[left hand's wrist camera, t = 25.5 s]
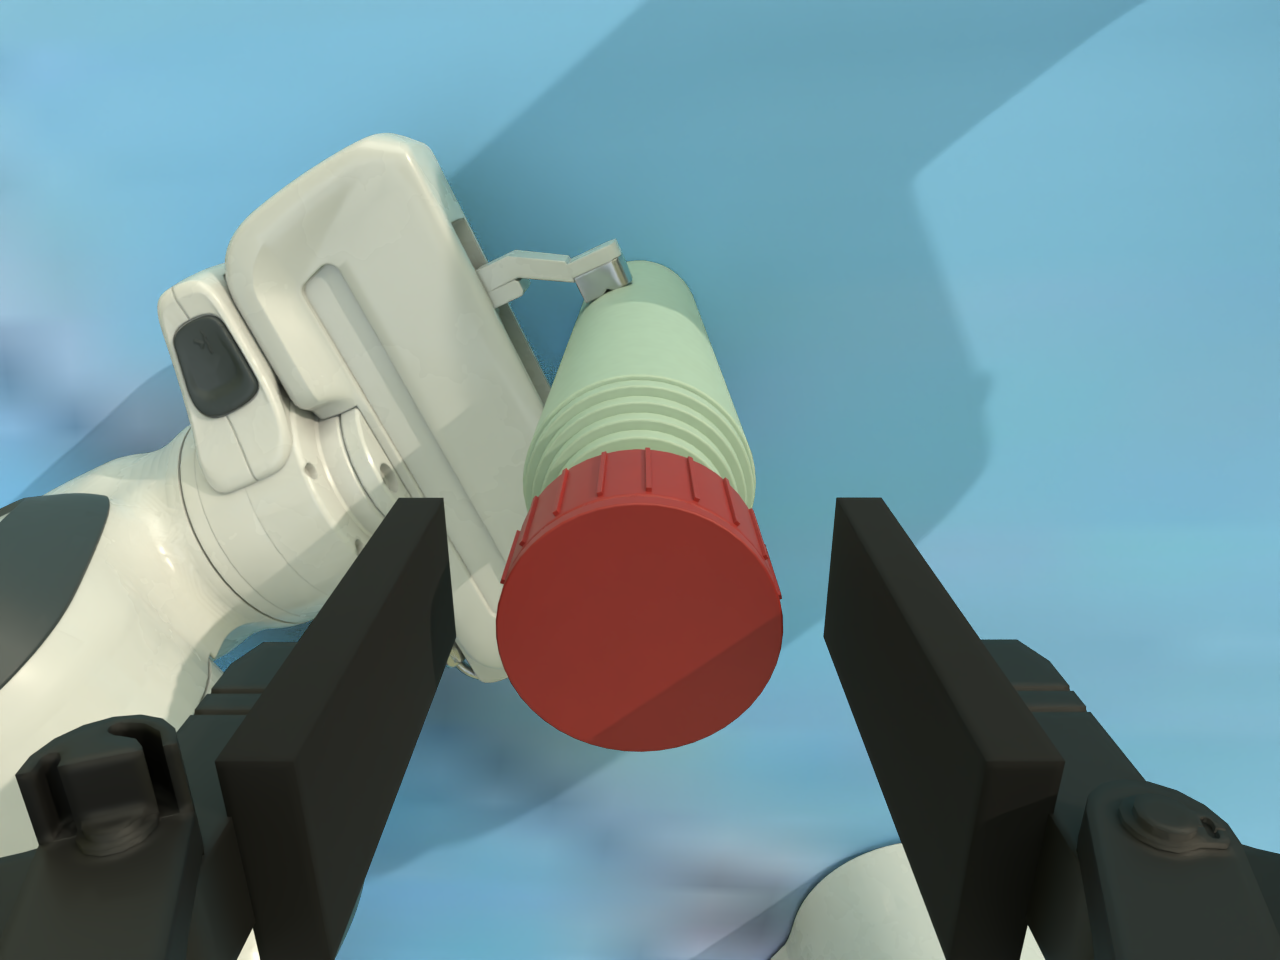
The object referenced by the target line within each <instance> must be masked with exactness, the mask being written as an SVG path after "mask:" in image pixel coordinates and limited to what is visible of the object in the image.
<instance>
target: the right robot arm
mask: <svg viewBox="0 0 1280 960" xmlns="http://www.w3.org/2000/svg"><path fill="white" fill-rule="evenodd" d="M632 278H633V277H632V274H631V272H630V269H629V267H628V265H627V262H626V260H625V258H624V255H623V253H622V252H621V248H620V246H619V244H618V242H617V240H616V239H613V240H610V241H607V242H605V243H603V244H601V245H599V246H597V247H595V248H592V249H590V250H588V251H586V252H584V253H582V254H580V255H578V256H575V257H573V258H570V256H569V255H561V254H551V253H542V252H532V251H523V250H514V251H512V252H510V253H507V254H505V255H503V256H501V257H499V258H497V259H495V260H493V261H491V262H489V263H488V261H487V259H486V257H485V255H484V253H483V251H482V249H481V247H480V245H479V243H478V241H477V239H476V237H475V235H474V233H473V231H472V229H471V227H470V225H469V223H468V221H467V219H466V217H465V215H464V213H463V211H462V209H461V207H460V205H459V203H458V201H457V199H456V197H455V195H454V193H453V191H452V189H451V187H450V185H449V183H448V181H447V179H446V177H445V175H444V173H443V171H442V169H441V167H440V165H439V163H438V161H437V159H436V157H435V156H434V154H433V152H432V150H431V149H430V148H429V147H428V146H427V145H426V144H424V143H422V142H419V141H417V140H414V139H411V138H408V137H406V136H402V135H398V134H393V133H380V134H374V135H371V136H368V137H366V138H363V139H361V140H359V141H357V142H355V143H353V144H351V145H349V146H347V147H345V148H344V149H342V150H340V151H339V152H337V153H335V154H334V155H332V156H330V157H329V158H327V159H325V160H324V161H322V162H321V163H319V164H317V165H316V166H314V167H313V168H311V169H310V170H308V171H307V172H305V173H304V174H302V175H301V176H299V177H298V178H296V179H295V180H294V181H292V182H291V183H289V184H288V185H286V186H285V187H284V188H282V189H281V190H280V191H278V192H277V193H276V194H275V195H273V196H272V197H271V198H269V199H268V200H267V201H265V202H264V203H263V204H262V205H260V206H259V207H258V208H257V209H256V210H255V211H253V212H252V213H251V214H250V215H249V216H248V217H247V218H246V219H245V220H244V221H243V222H242V223H241V225H240V226H239V227H238V228H237V230H236V231H235V233H234V234H233V236H232V238H231V240H230V242H229V245H228V248H227V251H226V256H225V263H222V264H219V265H216V266H213V267H210V268H207V269H204V270H202V271H200V272H198V273H195V274H193V275H191V276H189V277H187V278H186V279H184V280H182V281H180V282H179V283H177V284H175V285H174V286H172V287H171V288H169V289H168V290H167V291H165V292H164V293H163V294H162V295H161V296H160V298H159V301H158V306H157V309H158V318H159V322H160V326H161V329H162V332H163V336H164V339H165V342H166V345H167V348H168V351H169V354H170V357H171V360H172V363H173V366H174V369H175V372H176V376H177V379H178V382H179V385H180V389H181V392H182V395H183V399H184V403H185V406H186V410H187V413H188V417H189V421H190V425H189V426H187V427H186V428H185V429H183V430H182V431H181V432H180V433H179V434H178V435H177V436H176V437H175V438H174V439H173V440H172V441H171V442H170V443H169V444H168V445H166V446H165V447H163V448H162V449H159V450H157V451H154V452H150V453H142V454H134V455H129V456H125V457H121V458H117V459H114V460H112V461H109V462H107V463H105V464H103V465H101V466H99V467H97V468H95V469H92V470H90V471H88V472H86V473H84V474H82V475H80V476H78V477H76V478H74V479H72V480H70V481H68V482H66V483H64V484H62V485H61V486H59V487H57V488H55V489H53V490H51V491H50V492H48V493H46V494H44V495H43V496H37V497H28V498H23V499H20V500H18V501H16V502H14V503H11V504H9V505H7V506H5V507H3V508H1V509H0V858H1V857H5V856H9V855H14V854H18V853H23V852H26V851H30V850H33V849H37V848H38V846H39V844H38V841H37V838H36V835H35V832H34V830H33V827H32V824H31V821H30V818H29V815H28V812H27V809H26V806H25V803H24V800H23V797H22V794H21V791H20V788H19V785H18V783H17V780H16V777H15V774H16V773H17V772H18V770H19V769H20V768H21V767H22V765H23V764H24V763H25V762H26V760H27V759H28V758H29V757H30V756H31V755H32V754H33V753H35V752H36V751H38V750H39V749H40V748H42V747H43V746H45V745H46V744H47V743H49V742H50V741H52V740H53V739H54V738H57V737H59V736H61V735H63V734H65V733H67V732H69V731H72V730H74V729H76V728H78V727H80V726H82V725H85V724H89V723H92V722H96V721H100V720H103V719H107V718H110V717H115V716H127V715H139V714H142V715H147V716H153V717H158V718H163V719H164V720H165V721H167V722H168V723H169V724H170V725H172V726H173V727H174V728H175V729H176V732H177V731H178V730H179V728H180V727H181V726H182V725H183V723H184V722H185V721H186V720H187V718H188V717H189V716H190V715H194V713H195V708H196V707H197V706H198V705H199V703H200V702H201V701H202V700H203V698H204V697H205V696H206V695H207V694H211V688H212V687H213V686H214V685H215V683H216V682H217V681H218V680H219V678H220V677H221V676H222V675H223V673H224V672H223V671H222V670H221V669H220V668H219V667H218V666H217V665H216V664H215V663H214V662H213V661H215V660H217V659H219V658H220V657H222V656H224V655H226V654H228V653H229V652H231V651H232V650H233V649H234V648H236V647H237V646H238V645H239V644H241V643H242V642H243V641H244V640H245V639H246V638H248V637H249V636H251V635H252V634H254V633H256V632H259V631H261V630H265V629H273V628H285V627H292V626H295V625H299V624H302V623H306V622H308V621H310V620H312V619H314V618H315V617H316V615H317V614H318V612H319V611H320V610H321V608H322V607H323V605H324V604H325V602H326V601H327V600H328V598H329V597H330V595H331V594H332V592H333V591H334V590H335V588H336V587H337V585H338V584H339V582H340V581H341V580H342V578H343V577H344V575H345V574H346V572H347V571H348V570H349V568H350V567H351V565H352V564H353V562H354V561H355V559H356V558H357V557H358V555H359V554H360V552H361V551H362V549H363V548H364V547H365V545H366V544H367V542H368V541H369V539H370V538H371V537H372V535H373V534H374V532H375V531H376V529H377V528H378V527H379V525H380V524H381V522H382V521H383V519H384V518H385V517H386V515H387V514H388V512H389V511H390V509H391V508H392V507H393V505H394V504H395V502H396V501H397V499H398V498H444V508H445V519H446V530H447V541H448V551H449V562H450V573H451V584H452V594H453V605H454V616H455V627H456V639H455V642H454V645H453V647H452V650H451V653H450V655H449V658H448V661H447V663H446V667H448V668H453V667H456V668H457V669H458V670H459V671H461V672H462V673H464V674H465V675H467V676H469V677H471V678H474V679H478V680H480V681H482V682H484V683H492V682H497V681H501V680H503V679H506V678H508V676H507V674H506V672H505V670H504V667H503V664H502V661H501V658H500V655H499V652H498V646H497V640H496V614H497V607H498V602H499V599H500V595H501V592H502V588H503V585H504V584H501V583H500V581H501V578H502V575H503V571H504V568H505V565H506V562H507V559H508V556H509V553H510V550H511V547H512V544H513V541H514V537H515V534H516V531H517V530H519V531H521V528H522V525H523V522H524V520H525V518H526V516H527V509H526V504H525V499H524V494H523V472H524V464H525V460H526V456H527V452H528V449H529V446H530V443H531V441H532V438H533V435H534V433H535V430H536V427H537V425H538V422H539V419H540V417H541V414H542V411H543V409H544V406H545V403H546V401H547V398H548V395H549V392H550V390H551V386H550V384H549V382H548V380H547V378H546V376H545V374H544V372H543V370H542V368H541V366H540V364H539V362H538V360H537V358H536V356H535V354H534V352H533V350H532V348H531V346H530V344H529V342H528V340H527V338H526V336H525V334H524V332H523V330H522V328H521V326H520V324H519V322H518V320H517V318H516V316H515V314H514V312H513V310H512V308H511V306H510V304H509V302H510V301H512V300H514V299H516V298H518V297H520V296H522V295H523V294H524V293H525V291H526V290H527V289H528V288H529V286H530V284H531V282H530V280H529V279H537V280H549V281H561V282H573V283H574V282H576V284H577V286H578V288H579V290H580V292H581V294H582V296H583V298H584V300H585V302H586V303H588V302H591V301H593V300H595V299H597V298H599V297H601V296H602V295H604V293H605V292H606V290H607V289H611V290H615V289H618V288H621V287H623V286H625V285H627V284H629V283H630V282H632ZM465 658H466V660H467V661H468V663H469V664H470V666H469V665H468V664H467V663H465V662H464V660H465ZM363 885H364V882H363ZM363 885H362V888H361V890H360V893H359V896H358V898H357V901H356V903H355V906H354V909H353V911H352V914H351V917H350V919H349V922H348V925H347V927H346V930H345V933H344V935H343V938H342V940H341V943H340V946H339V948H338V951H337V954H338V952H339V949H340V947H341V945H342V943H343V941H344V939H345V937H346V935H347V932H348V930H349V928H350V925H351V923H352V920H353V918H354V915H355V912H356V910H357V907H358V904H359V900H360V897H361V893H362V889H363ZM337 954H336V956H337ZM336 956H335V958H336ZM237 960H260V957H259V953H258V948H257V944H256V940H255V935H254V931H253V929H252V931H251V933H250V935H249V937H248V939H247V941H246V943H245V945H244V947H243V949H242V951H241V953H240V955H239V957H238V959H237ZM770 960H946V959H945V956H944V954H943V951H942V948H941V946H940V943H939V940H938V938H937V935H936V933H935V930H934V927H933V925H932V922H931V919H930V917H929V914H928V911H927V909H926V906H925V903H924V901H923V898H922V896H921V893H920V890H919V888H918V885H917V882H916V880H915V877H914V874H913V872H912V869H911V867H910V864H909V861H908V859H907V856H906V853H905V851H904V848H903V845H902V843H898V844H893V845H889V846H885V847H882V848H879V849H875V850H873V851H870V852H867V853H865V854H862V855H860V856H858V857H856V858H854V859H852V860H850V861H848V862H846V863H845V864H843V865H841V866H840V867H838V868H837V869H835V870H834V871H832V872H831V873H830V874H828V875H827V876H826V877H825V878H824V879H823V880H821V881H820V882H819V883H818V884H817V885H816V886H815V887H814V889H813V890H812V891H811V892H810V893H809V895H808V896H807V897H806V899H805V900H804V902H803V903H802V905H801V907H800V909H799V911H798V913H797V915H796V918H795V921H794V924H793V927H792V930H791V933H790V936H789V938H788V940H787V942H786V944H785V945H784V946H783V947H782V948H781V949H780V950H779V951H778V952H777V953H776V954H775V955H774V956H773V957H772V958H771V959H770ZM1020 960H1045V958H1044V956H1043V954H1042V952H1041V950H1040V948H1039V946H1038V944H1037V942H1036V940H1035V938H1034V936H1033V934H1032V932H1031V930H1030V928H1029V927H1027V931H1026V935H1025V940H1024V944H1023V948H1022V953H1021V957H1020Z"/></svg>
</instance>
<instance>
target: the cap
mask: <svg viewBox="0 0 1280 960" xmlns="http://www.w3.org/2000/svg"><path fill="white" fill-rule="evenodd" d="M500 583H501V584H504V585H503V588H502V592H501V595H500V599H499V602H498V607H497V614H496V640H497V646H498V652H499V655H500V658H501V661H502V664H503V667H504V670H505V672H506V674H507V676H508V678H509V680H510V682H511V684H512V685H513V687H514V688H515V690H516V691H517V693H518V694H519V696H520V697H521V698H522V699H523V700H524V702H525V703H526V704H527V705H528V706H529V707H530V708H531V709H532V710H533V711H534V712H535V713H536V714H537V715H538V716H540V717H541V718H542V719H543V720H544V721H546V722H547V723H549V724H550V725H552V726H553V727H555V728H556V729H558V730H559V731H561V732H563V733H565V734H567V735H569V736H571V737H573V738H575V739H578V740H580V741H583V742H586V743H588V744H591V745H595V746H599V747H603V748H607V749H614V750H621V751H638V752H644V751H658V750H665V749H670V748H676V747H680V746H683V745H687V744H690V743H693V742H696V741H698V740H701V739H703V738H705V737H708V736H710V735H712V734H714V733H715V732H717V731H719V730H721V729H723V728H724V727H726V726H727V725H729V724H730V723H731V722H733V721H734V720H735V719H737V718H738V717H739V716H740V715H741V714H742V713H744V712H745V711H746V710H747V709H748V708H749V707H750V706H751V705H752V704H753V702H754V701H755V700H756V699H757V697H758V696H759V695H760V694H761V692H762V691H763V689H764V688H765V686H766V684H767V683H768V681H769V680H770V678H771V675H772V673H773V671H774V669H775V666H776V664H777V661H778V657H779V654H780V650H781V644H782V636H783V615H782V609H781V604H780V599H782V596H781V592H780V589H779V586H778V583H777V580H776V577H775V573H774V570H773V567H772V564H771V561H770V558H769V555H768V552H767V549H766V545H765V544H764V542H763V539H762V536H761V532H760V529H759V526H758V523H757V520H756V517H755V514H754V511H753V509H752V508H750V509H748V507H747V505H746V504H745V502H744V501H743V500H742V498H741V497H740V495H739V494H738V493H737V492H736V491H735V490H734V489H733V488H732V487H731V486H730V483H729V480H728V479H727V478H726V477H725V478H724V479H723V478H721V477H720V476H719V475H718V474H716V473H715V472H713V471H712V470H710V469H709V468H707V467H705V466H704V465H702V464H700V463H698V462H695V461H693V458H692V457H690V456H688V458H686V457H683V456H680V455H676V454H673V453H669V452H663V451H657V450H650V448H647V447H645V450H644V449H633V450H621V451H615V452H610V453H607V452H606V451H605V452H602V453H601V455H599V456H595V457H593V458H590V459H587V460H585V461H583V462H581V463H579V464H577V465H575V466H573V467H571V468H570V469H567V468H565V469H564V470H563V471H562V474H561V475H559V476H558V477H557V478H556V479H555V480H554V481H553V482H551V483H550V484H549V485H548V486H547V487H546V488H545V489H544V491H543V492H542V493H541V494H540V495H539V496H538V497H537V496H535V497H534V498H533V500H532V504H531V507H530V510H529V511H528V514H527V516H526V518H525V520H524V522H523V525H522V528H521V531H519V530H517V531H516V534H515V537H514V541H513V544H512V547H511V550H510V553H509V556H508V559H507V562H506V565H505V568H504V571H503V575H502V578H501V581H500Z"/></svg>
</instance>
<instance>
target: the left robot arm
mask: <svg viewBox="0 0 1280 960" xmlns="http://www.w3.org/2000/svg"><path fill="white" fill-rule="evenodd" d="M455 639H456V627H455V616H454V605H453V594H452V584H451V573H450V562H449V551H448V541H447V530H446V519H445V508H444V498H398V499H397V501H396V502H395V504H394V505H393V507H392V508H391V509H390V511H389V512H388V514H387V515H386V517H385V518H384V519H383V521H382V522H381V524H380V525H379V527H378V528H377V529H376V531H375V532H374V534H373V535H372V537H371V538H370V539H369V541H368V542H367V544H366V545H365V547H364V548H363V549H362V551H361V552H360V554H359V555H358V557H357V558H356V559H355V561H354V562H353V564H352V565H351V567H350V568H349V570H348V571H347V572H346V574H345V575H344V577H343V578H342V580H341V581H340V582H339V584H338V585H337V587H336V588H335V590H334V591H333V592H332V594H331V595H330V597H329V598H328V600H327V601H326V602H325V604H324V605H323V607H322V608H321V610H320V611H319V612H318V614H317V615H316V617H315V618H314V620H313V621H312V622H311V624H310V625H309V627H308V628H307V630H306V631H305V632H304V634H303V635H302V637H301V638H300V640H299V641H298V642H263V643H262V644H260V645H259V646H257V647H256V648H254V649H253V650H251V651H250V652H248V653H247V654H245V655H244V656H242V657H241V658H239V659H238V660H236V661H235V662H233V663H232V664H231V665H230V666H229V667H228V668H227V670H226V671H225V672H224V673H223V675H222V676H221V677H220V678H219V680H218V681H217V682H216V683H215V685H214V686H213V687H212V688H211V694H207V695H206V696H205V697H204V698H203V700H202V701H201V702H200V703H199V705H198V706H197V707H196V708H195V713H194V715H190V716H189V717H188V718H187V720H186V721H185V722H184V723H183V725H182V726H181V727H180V728H179V730H178V731H177V732H176V729H175V728H174V727H173V726H172V725H170V724H169V723H168V722H167V721H165V720H164V719H163V718H158V717H153V716H147V715H142V714H139V715H127V716H115V717H110V718H107V719H103V720H100V721H96V722H92V723H89V724H85V725H82V726H80V727H78V728H76V729H74V730H72V731H69V732H67V733H65V734H63V735H61V736H59V737H57V738H54V739H53V740H52V741H50V742H49V743H47V744H46V745H45V746H43V747H42V748H40V749H39V750H38V751H36V752H35V753H33V754H32V755H31V756H30V757H29V758H28V759H27V760H26V762H25V763H24V764H23V765H22V767H21V768H20V769H19V770H18V772H17V773H16V774H15V777H16V780H17V783H18V785H19V788H20V791H21V794H22V797H23V800H24V803H25V806H26V809H27V812H28V815H29V818H30V821H31V824H32V827H33V830H34V832H35V835H36V838H37V841H38V844H39V846H38V848H37V849H33V850H30V851H26V852H23V853H18V854H14V855H9V856H5V857H1V858H0V960H237V959H238V957H239V955H240V953H241V951H242V949H243V947H244V945H245V943H246V941H247V939H248V937H249V935H250V933H251V931H252V929H253V931H254V935H255V940H256V944H257V948H258V953H259V957H260V960H334V959H335V956H336V954H337V951H338V948H339V946H340V943H341V940H342V938H343V935H344V933H345V930H346V927H347V925H348V922H349V919H350V917H351V914H352V911H353V909H354V906H355V903H356V901H357V898H358V896H359V893H360V890H361V888H362V885H363V882H364V880H365V877H366V874H367V872H368V869H369V867H370V864H371V861H372V859H373V856H374V853H375V851H376V848H377V845H378V843H379V840H380V837H381V835H382V832H383V830H384V827H385V824H386V822H387V819H388V816H389V814H390V811H391V808H392V806H393V803H394V800H395V798H396V795H397V793H398V790H399V787H400V785H401V782H402V779H403V777H404V774H405V771H406V769H407V766H408V764H409V761H410V758H411V756H412V753H413V750H414V748H415V745H416V742H417V740H418V737H419V734H420V732H421V729H422V727H423V724H424V721H425V719H426V716H427V713H428V711H429V708H430V705H431V703H432V700H433V697H434V695H435V692H436V690H437V687H438V684H439V682H440V679H441V676H442V674H443V671H444V668H445V666H446V663H447V661H448V658H449V655H450V653H451V650H452V647H453V645H454V642H455ZM824 639H825V642H826V645H827V647H828V650H829V653H830V655H831V658H832V661H833V663H834V666H835V668H836V671H837V674H838V676H839V679H840V682H841V684H842V687H843V690H844V692H845V695H846V698H847V700H848V703H849V705H850V708H851V711H852V713H853V716H854V719H855V721H856V724H857V727H858V729H859V732H860V734H861V737H862V740H863V742H864V745H865V748H866V750H867V753H868V756H869V758H870V761H871V764H872V766H873V769H874V771H875V774H876V777H877V779H878V782H879V785H880V787H881V790H882V793H883V795H884V798H885V800H886V803H887V806H888V808H889V811H890V814H891V816H892V819H893V822H894V824H895V827H896V830H897V832H898V835H899V837H900V840H901V843H902V845H903V848H904V851H905V853H906V856H907V859H908V861H909V864H910V867H911V869H912V872H913V874H914V877H915V880H916V882H917V885H918V888H919V890H920V893H921V896H922V898H923V901H924V903H925V906H926V909H927V911H928V914H929V917H930V919H931V922H932V925H933V927H934V930H935V933H936V935H937V938H938V940H939V943H940V946H941V948H942V951H943V954H944V956H945V959H946V960H1020V957H1021V953H1022V948H1023V944H1024V940H1025V935H1026V931H1027V927H1029V928H1030V930H1031V932H1032V934H1033V936H1034V938H1035V940H1036V942H1037V944H1038V946H1039V948H1040V950H1041V952H1042V954H1043V956H1044V958H1045V960H1280V854H1278V853H1273V852H1269V851H1264V850H1260V849H1256V848H1252V847H1249V846H1246V845H1242V844H1241V843H1240V841H1239V840H1238V838H1237V837H1236V835H1235V834H1234V832H1233V831H1232V829H1231V828H1230V826H1229V825H1228V824H1227V823H1226V822H1225V821H1224V820H1222V819H1221V818H1220V817H1219V816H1218V815H1216V814H1215V813H1214V812H1213V811H1211V810H1210V809H1209V808H1208V807H1207V806H1205V805H1204V804H1202V803H1200V802H1198V801H1196V800H1194V799H1192V798H1190V797H1188V796H1187V795H1185V794H1183V793H1181V792H1179V791H1177V790H1174V789H1171V788H1167V787H1164V786H1161V785H1158V784H1155V783H1151V782H1148V781H1145V779H1144V778H1143V777H1142V776H1141V774H1140V773H1139V772H1138V771H1137V769H1136V768H1135V767H1134V766H1133V764H1132V763H1131V762H1130V761H1129V759H1128V758H1127V757H1126V756H1125V754H1124V753H1123V752H1122V751H1121V749H1120V748H1119V747H1118V746H1117V744H1116V743H1115V742H1114V741H1113V740H1112V738H1111V737H1110V736H1109V735H1108V733H1107V732H1106V731H1105V730H1104V728H1103V727H1102V726H1101V725H1100V723H1099V722H1098V721H1097V720H1096V718H1095V717H1094V716H1093V715H1092V713H1091V712H1087V711H1086V706H1085V705H1084V703H1083V702H1082V701H1081V700H1080V698H1079V697H1078V696H1077V695H1076V694H1075V692H1074V691H1070V689H1069V685H1068V684H1067V682H1066V681H1065V680H1064V679H1063V677H1062V676H1061V675H1060V674H1059V672H1058V671H1057V670H1056V669H1055V667H1054V666H1053V665H1052V664H1051V662H1050V661H1049V660H1047V659H1046V658H1044V657H1043V656H1041V655H1039V654H1038V653H1036V652H1035V651H1033V650H1032V649H1030V648H1029V647H1027V646H1026V645H1024V644H1023V643H1021V642H1020V641H1018V640H980V638H979V637H978V635H977V634H976V632H975V631H974V630H973V628H972V627H971V625H970V624H969V622H968V621H967V620H966V618H965V617H964V615H963V614H962V612H961V611H960V610H959V608H958V607H957V605H956V604H955V602H954V601H953V600H952V598H951V597H950V595H949V594H948V592H947V591H946V590H945V588H944V587H943V585H942V584H941V582H940V581H939V580H938V578H937V577H936V575H935V574H934V572H933V571H932V570H931V568H930V567H929V565H928V564H927V562H926V561H925V559H924V558H923V557H922V555H921V554H920V552H919V551H918V549H917V548H916V547H915V545H914V544H913V542H912V541H911V539H910V538H909V537H908V535H907V534H906V532H905V531H904V529H903V528H902V527H901V525H900V524H899V522H898V521H897V519H896V518H895V517H894V515H893V514H892V512H891V511H890V509H889V508H888V507H887V505H886V504H885V502H884V501H883V499H882V498H836V508H835V519H834V530H833V541H832V551H831V562H830V573H829V584H828V594H827V605H826V616H825V627H824Z"/></svg>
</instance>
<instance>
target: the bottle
mask: <svg viewBox="0 0 1280 960" xmlns="http://www.w3.org/2000/svg"><path fill="white" fill-rule="evenodd" d="M627 265H628V267H629V269H630V272H631V274H632V277H633V278H632V282H630V283H629V284H627V285H625V286H623V287H621V288H618V289H615V290H611V289H607V290H606V292H605V293H604V295H602V296H601V297H599V298H597V299H595V300H593V301H591V302H588V303H586V302H585V300H584V301H583V304H582V307H581V309H580V312H579V315H578V317H577V320H576V323H575V326H574V328H573V331H572V334H571V336H570V339H569V342H568V344H567V347H566V350H565V352H564V355H563V358H562V360H561V363H560V366H559V368H558V371H557V374H556V376H555V379H554V382H553V384H552V387H551V390H550V392H549V395H548V398H547V401H546V403H545V406H544V409H543V411H542V414H541V417H540V419H539V422H538V425H537V427H536V430H535V433H534V435H533V438H532V441H531V443H530V446H529V449H528V452H527V456H526V460H525V464H524V472H523V494H524V499H525V504H526V509H527V514H528V511H529V510H530V507H531V504H532V500H533V498H534V497H535V496H537V497H538V496H539V495H540V494H541V493H542V492H543V491H544V489H545V488H546V487H547V486H548V485H549V484H550V483H551V482H553V481H554V480H555V479H556V478H557V477H558V476H559V475H561V474H562V471H563V470H564V469H565V468H567V469H570V468H571V467H573V466H575V465H577V464H579V463H581V462H583V461H585V460H587V459H590V458H593V457H595V456H599V455H601V453H602V452H605V451H606V452H607V453H610V452H615V451H621V450H633V449H644V450H645V447H647V448H650V450H657V451H663V452H669V453H673V454H676V455H680V456H683V457H686V458H688V456H690V457H692V458H693V461H695V462H698V463H700V464H702V465H704V466H705V467H707V468H709V469H710V470H712V471H713V472H715V473H716V474H718V475H719V476H720V477H721V478H723V479H724V478H725V477H726V478H727V479H728V480H729V483H730V486H731V487H732V488H733V489H734V490H735V491H736V492H737V493H738V494H739V495H740V497H741V498H742V500H743V501H744V502H745V504H746V505H747V507H748V509H750V508H752V507H753V502H754V497H755V485H756V478H755V466H754V462H753V457H752V453H751V450H750V448H749V445H748V442H747V440H746V437H745V434H744V432H743V429H742V426H741V424H740V421H739V418H738V416H737V413H736V410H735V408H734V405H733V402H732V399H731V397H730V394H729V391H728V389H727V386H726V383H725V381H724V378H723V375H722V373H721V370H720V367H719V365H718V362H717V359H716V357H715V354H714V351H713V349H712V346H711V343H710V341H709V338H708V335H707V333H706V330H705V327H704V325H703V322H702V319H701V317H700V314H699V311H698V309H697V306H696V303H695V300H694V298H693V295H692V293H691V291H690V289H689V288H688V286H687V285H686V283H685V282H684V281H683V280H682V279H681V278H680V277H679V276H678V275H677V274H676V273H675V272H673V271H672V270H670V269H669V268H667V267H665V266H663V265H660V264H658V263H654V262H650V261H628V262H627Z"/></svg>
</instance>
